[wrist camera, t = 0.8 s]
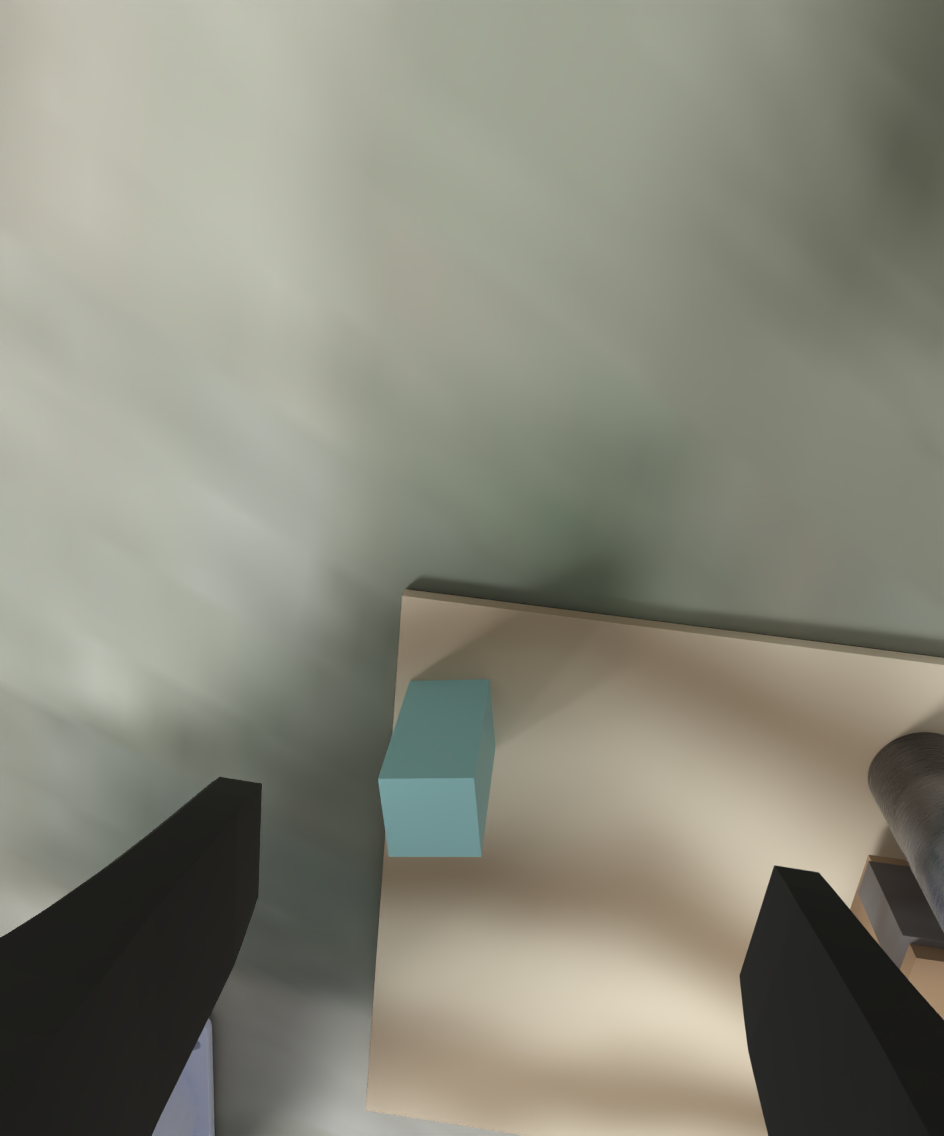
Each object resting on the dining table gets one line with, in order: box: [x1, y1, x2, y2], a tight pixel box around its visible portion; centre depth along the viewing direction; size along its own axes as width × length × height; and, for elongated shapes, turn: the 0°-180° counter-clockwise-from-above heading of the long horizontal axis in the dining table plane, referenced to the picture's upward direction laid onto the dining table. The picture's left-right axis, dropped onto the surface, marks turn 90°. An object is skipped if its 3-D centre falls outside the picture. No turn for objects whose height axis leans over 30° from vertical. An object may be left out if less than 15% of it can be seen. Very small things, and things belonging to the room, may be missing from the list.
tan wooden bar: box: [850, 855, 944, 1019], centre depth 23 cm, size 11×2×4 cm, turn 175°
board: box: [366, 589, 944, 1136], centre depth 25 cm, size 18×16×1 cm
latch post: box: [378, 679, 495, 857], centre depth 21 cm, size 2×2×4 cm
